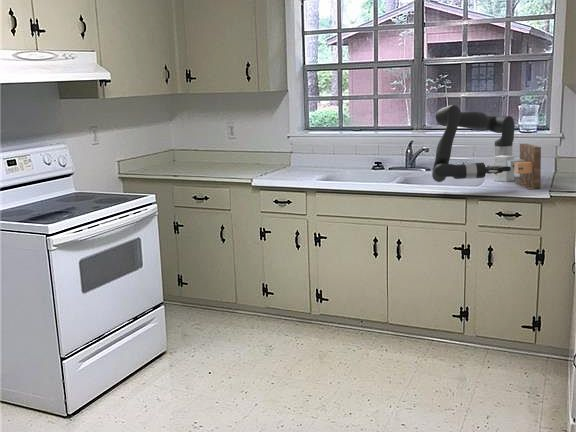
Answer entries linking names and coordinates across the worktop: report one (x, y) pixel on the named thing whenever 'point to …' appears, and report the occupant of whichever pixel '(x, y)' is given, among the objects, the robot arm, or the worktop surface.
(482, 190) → the worktop surface
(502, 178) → the small box
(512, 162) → the button one
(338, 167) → the worktop surface
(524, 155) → the walnut board
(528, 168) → the button two
